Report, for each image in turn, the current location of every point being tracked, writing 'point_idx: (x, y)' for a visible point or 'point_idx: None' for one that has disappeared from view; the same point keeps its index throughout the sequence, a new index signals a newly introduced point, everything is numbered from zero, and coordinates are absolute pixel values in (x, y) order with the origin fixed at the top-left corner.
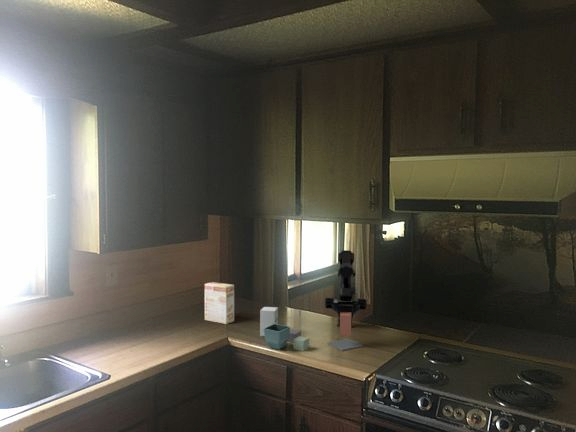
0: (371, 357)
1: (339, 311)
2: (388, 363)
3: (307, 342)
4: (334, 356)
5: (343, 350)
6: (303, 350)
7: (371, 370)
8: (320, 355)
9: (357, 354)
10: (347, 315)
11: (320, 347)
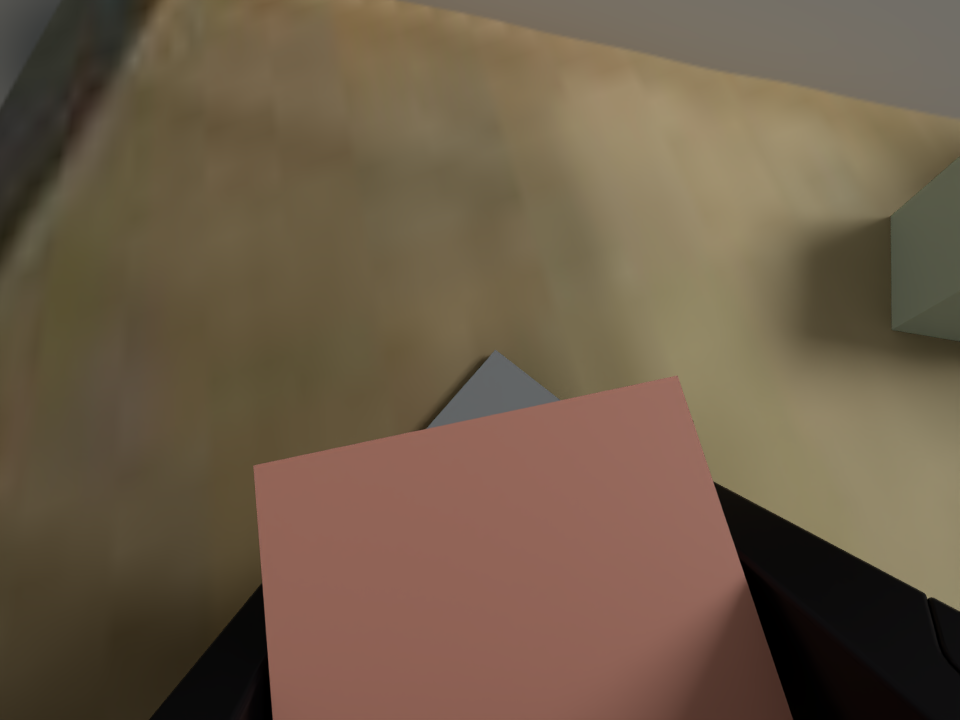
0: (170, 272)
1: (839, 642)
2: (19, 180)
3: (943, 269)
4: (531, 181)
5: (483, 369)
6: (893, 217)
7: (174, 9)
8: (670, 162)
9: (316, 307)
10: (399, 438)
11: (770, 386)
